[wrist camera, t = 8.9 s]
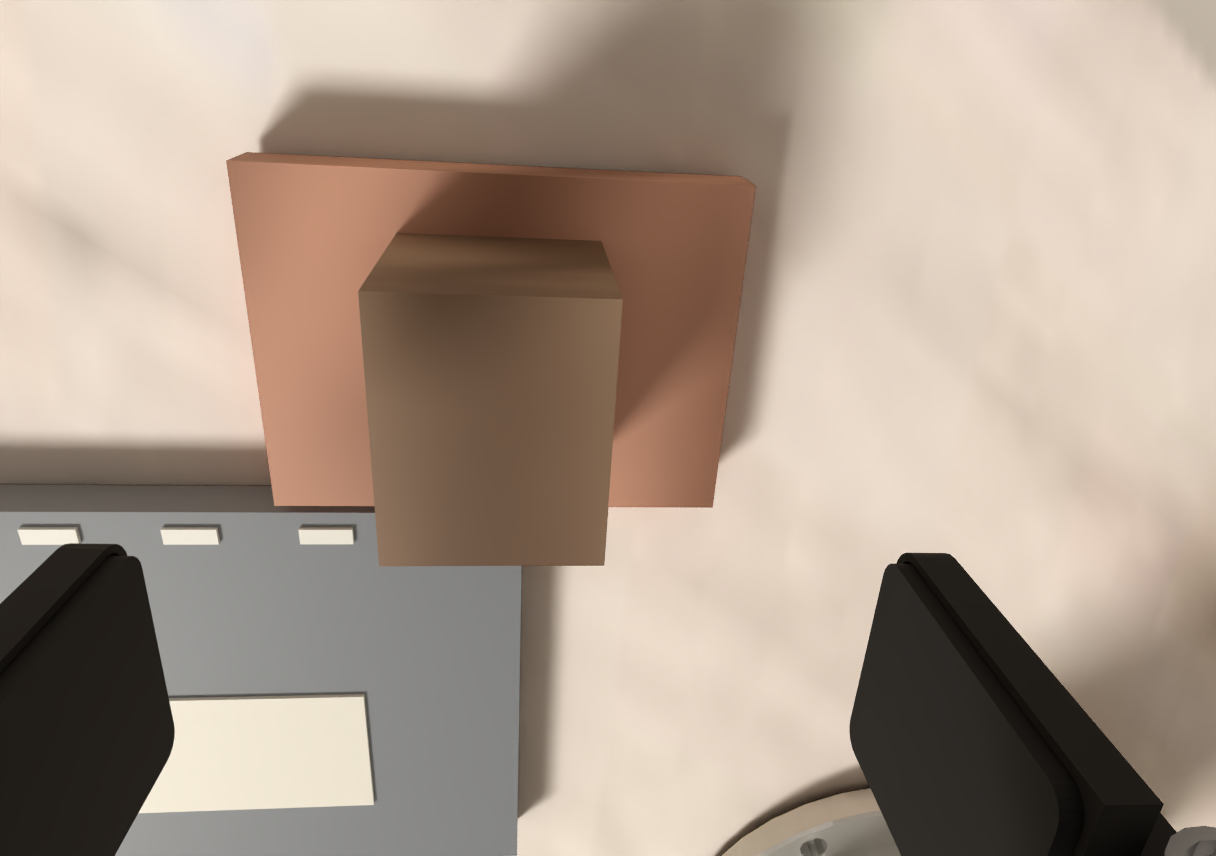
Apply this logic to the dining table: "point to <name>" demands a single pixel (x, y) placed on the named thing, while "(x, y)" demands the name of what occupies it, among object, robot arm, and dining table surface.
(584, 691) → the dining table surface
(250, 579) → the board
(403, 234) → the wooden t-shaped block
